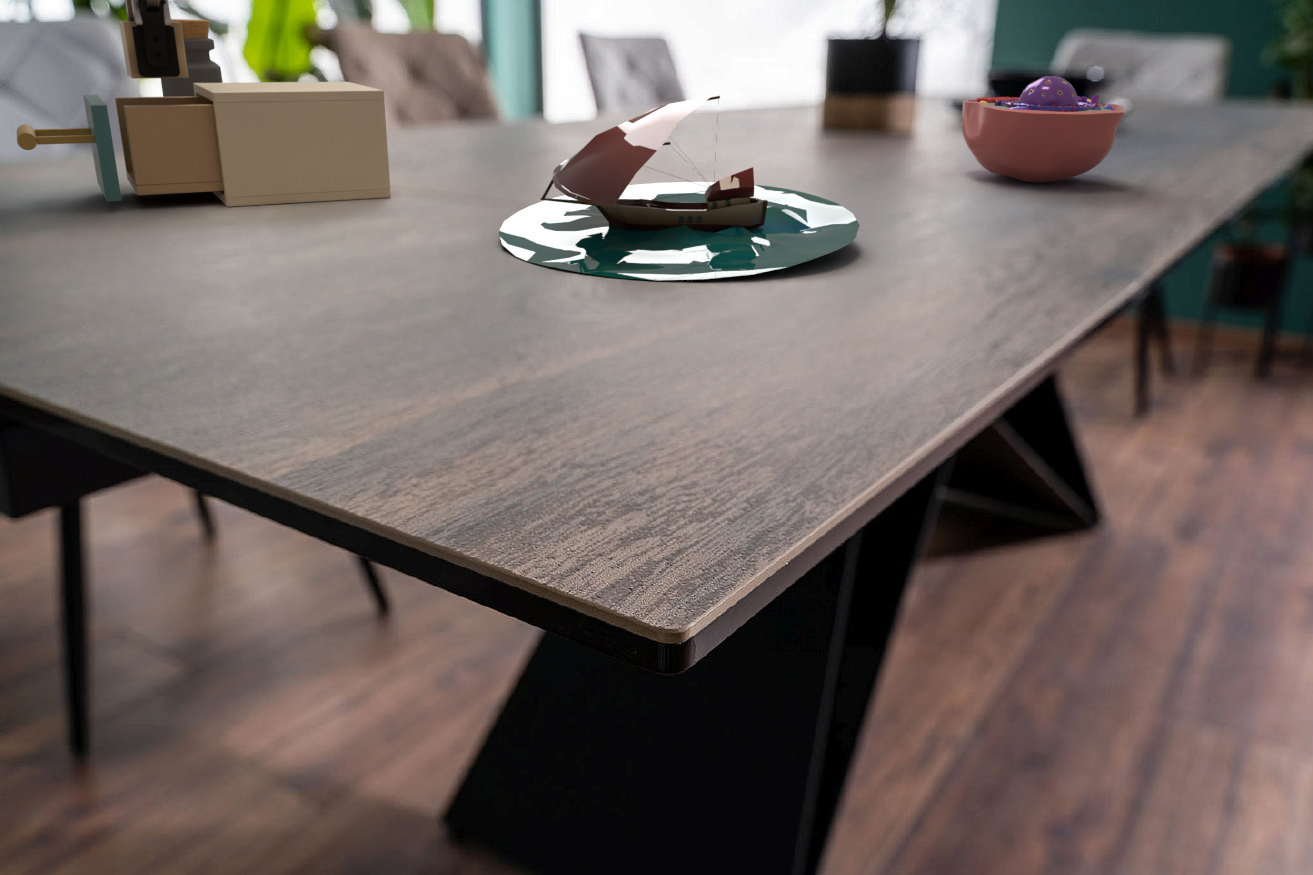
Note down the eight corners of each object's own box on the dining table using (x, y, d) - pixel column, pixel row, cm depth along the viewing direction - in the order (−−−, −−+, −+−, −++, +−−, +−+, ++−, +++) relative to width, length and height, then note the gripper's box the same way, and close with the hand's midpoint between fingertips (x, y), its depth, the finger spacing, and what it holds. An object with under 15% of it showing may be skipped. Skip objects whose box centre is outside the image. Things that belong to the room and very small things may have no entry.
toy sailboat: (504, 209, 97) (493, 80, 92) (811, 193, 99) (815, 66, 94) (494, 312, 72) (478, 142, 67) (905, 288, 74) (918, 121, 69)
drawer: (28, 206, 88) (9, 106, 85) (27, 186, 97) (10, 95, 94) (272, 192, 97) (263, 102, 94) (250, 175, 106) (240, 92, 103)
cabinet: (227, 206, 95) (213, 92, 91) (206, 186, 105) (192, 82, 101) (390, 197, 101) (383, 90, 98) (356, 178, 112) (348, 81, 108)
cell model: (1096, 172, 130) (1113, 73, 126) (1124, 197, 112) (1144, 82, 108) (952, 164, 134) (963, 68, 129) (956, 187, 115) (970, 76, 111)
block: (131, 78, 92) (123, 21, 90) (127, 75, 95) (118, 20, 94) (188, 77, 94) (181, 22, 92) (182, 74, 97) (174, 21, 96)
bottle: (232, 175, 112) (214, 20, 107) (171, 176, 110) (149, 19, 105) (233, 167, 117) (216, 19, 112) (175, 168, 116) (154, 18, 110)
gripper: (66, -154, 93) (102, 70, 99) (75, -180, 79) (117, 81, 86) (160, -147, 96) (189, 69, 103) (185, -171, 82) (217, 80, 89)
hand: (156, 72), depth 94 cm, fingers closed on block, 4 cm apart
